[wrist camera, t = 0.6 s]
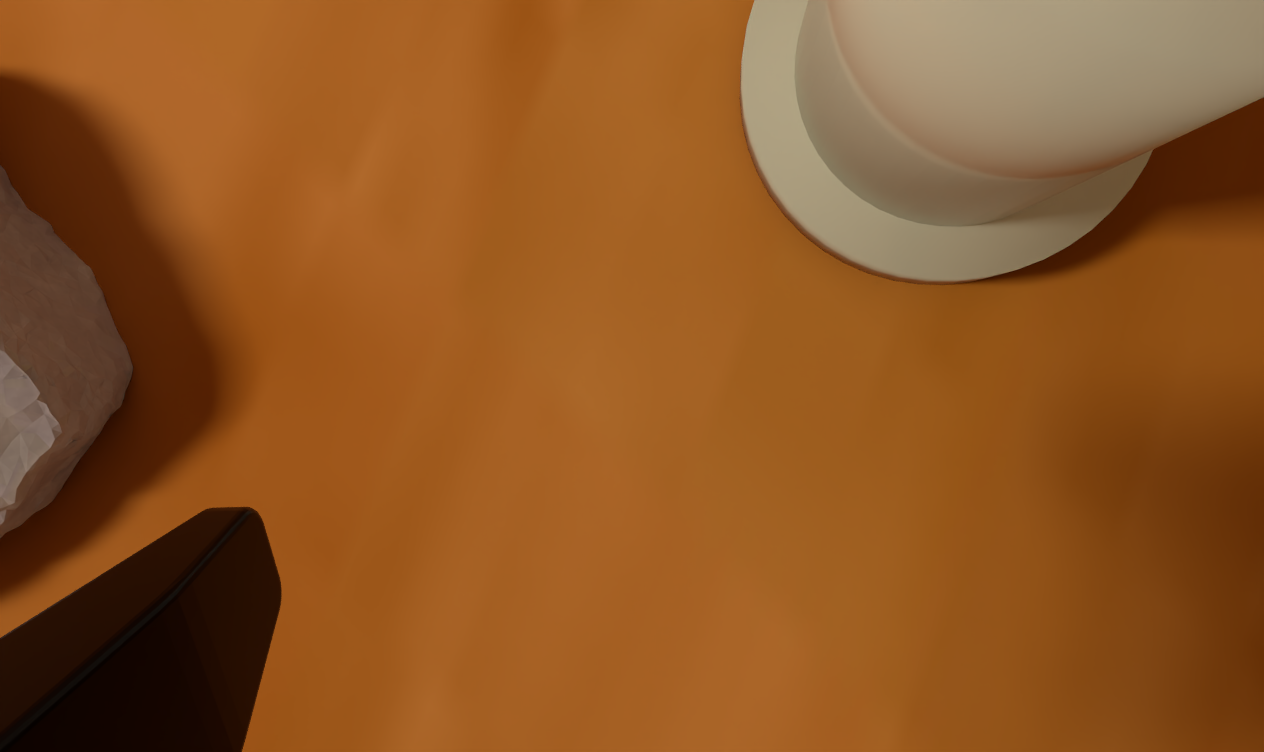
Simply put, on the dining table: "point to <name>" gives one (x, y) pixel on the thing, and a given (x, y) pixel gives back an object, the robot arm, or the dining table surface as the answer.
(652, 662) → the dining table surface
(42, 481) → the stone block
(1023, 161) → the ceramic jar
